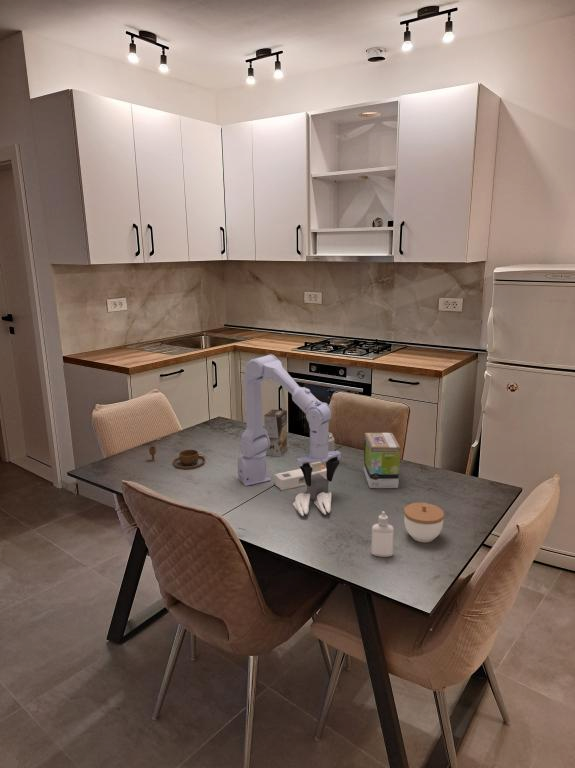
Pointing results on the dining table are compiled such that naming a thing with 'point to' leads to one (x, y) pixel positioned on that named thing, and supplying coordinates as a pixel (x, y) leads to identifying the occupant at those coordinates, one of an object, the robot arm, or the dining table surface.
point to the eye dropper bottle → (382, 537)
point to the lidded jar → (423, 521)
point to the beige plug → (315, 466)
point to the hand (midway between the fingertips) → (318, 482)
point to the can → (329, 446)
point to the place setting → (183, 458)
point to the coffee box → (276, 431)
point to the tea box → (381, 460)
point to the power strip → (295, 478)
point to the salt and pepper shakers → (303, 502)
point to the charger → (317, 486)
